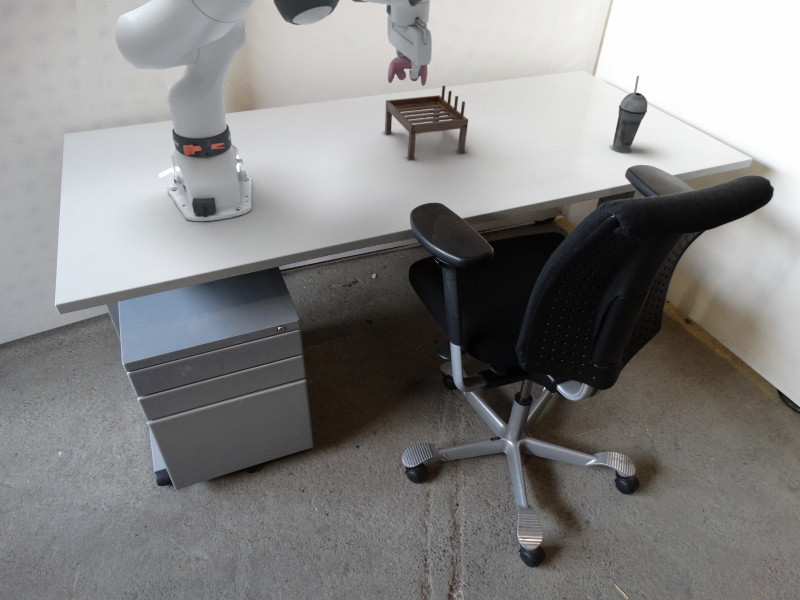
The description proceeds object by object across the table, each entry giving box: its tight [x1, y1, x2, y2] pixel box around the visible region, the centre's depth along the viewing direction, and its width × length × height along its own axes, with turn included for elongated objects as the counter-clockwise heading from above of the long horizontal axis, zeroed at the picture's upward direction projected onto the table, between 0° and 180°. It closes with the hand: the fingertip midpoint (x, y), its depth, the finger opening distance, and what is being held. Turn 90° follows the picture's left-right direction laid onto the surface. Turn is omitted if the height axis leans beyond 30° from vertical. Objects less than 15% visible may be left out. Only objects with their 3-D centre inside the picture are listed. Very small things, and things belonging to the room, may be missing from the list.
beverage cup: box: [611, 75, 648, 154], centre depth 157 cm, size 7×7×20 cm
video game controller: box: [387, 56, 428, 87], centre depth 147 cm, size 10×5×7 cm, turn 84°
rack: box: [384, 85, 469, 161], centre depth 157 cm, size 18×16×13 cm
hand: (407, 72), depth 147 cm, fingers closed on video game controller, 7 cm apart
